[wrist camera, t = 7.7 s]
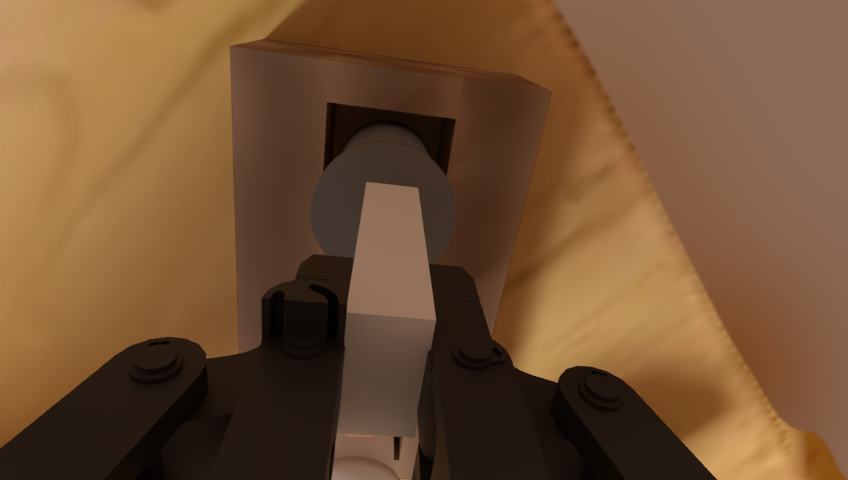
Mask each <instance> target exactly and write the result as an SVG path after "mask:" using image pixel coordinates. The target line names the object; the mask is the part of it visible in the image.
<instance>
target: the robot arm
mask: <svg viewBox="0 0 848 480" xmlns="http://www.w3.org/2000/svg"><path fill="white" fill-rule="evenodd" d="M261 308H262V341H261V344H260V346H258V347H257V348H255V349H252V350H250V351H247V352H244V353H240V354H235V355H231V356H224V357H217V358H210V359H206V353H205V351H204V350H203V349H202V348H201V347H200V345H199V344H197V343H194V342H192V341H190V340H187V339H183V338H173V337H165V338H157V339H150V340H147V341H144V342H141V343H138V344H135V345H132V346H130V347H128V348H127V349H125V350H123V351H122V352H120V353H118V354H117V355H115V356H114V357H113V358H112V359H110V360H109V361H108V362H107V363H106V364H104V365H103V366H102V367H101V368H99V369H98V370H97V371H96V372H94V373H93V374H92V375H91V376H89V377H88V378H87V379H86V380H85V381H83V382H82V383H81V384H80V385H78V386H77V387H76V388H75V389H73V390H72V391H71V392H70V393H69V394H67V395H66V396H65V397H64V398H62V399H61V400H60V401H59V402H57V403H56V404H55V405H54V406H52V407H51V408H50V409H49V410H48V411H46V412H45V413H44V414H43V415H41V416H40V417H39V418H38V419H36V420H35V421H34V422H33V423H31V424H30V425H29V426H28V427H27V428H25V429H24V430H23V431H22V432H20V433H19V434H18V435H17V436H15V437H14V438H13V439H12V440H11V441H9V442H8V443H7V444H6V445H4V446H3V447H2V448H1V449H0V480H332V472H333V464H334V455H335V444H336V434H337V433H340V434H358V435H376V436H394V437H412V438H415V433H416V428H417V422H418V434H419V443H418V449H417V454H416V459H415V464H414V470H413V475H412V480H717V479H716V478H715V477H714V476H713V475H712V474H711V473H710V472H709V471H708V470H707V468H706V467H705V466H704V465H703V464H702V463H701V462H700V461H699V460H698V459H697V458H696V457H695V455H694V454H693V453H692V452H691V451H690V450H689V449H688V448H687V447H686V446H685V445H684V444H683V443H682V441H681V440H680V439H679V438H678V437H677V436H676V435H675V434H674V433H673V432H672V431H671V430H670V429H669V427H668V426H667V425H666V424H665V423H664V422H663V421H662V420H661V419H660V418H659V417H658V416H657V415H656V413H655V412H654V411H653V410H652V409H651V408H650V407H649V406H648V405H647V404H646V403H645V402H644V401H643V399H642V398H641V397H640V396H639V395H638V394H637V393H636V392H635V391H634V390H633V389H632V388H631V387H630V386H629V385H627V384H626V383H625V382H624V381H623V380H621V379H620V378H618V377H616V376H614V375H612V374H611V373H609V372H607V371H604V370H601V369H597V368H594V367H587V366H576V367H572V368H569V369H566V370H565V371H564V372H563V373H562V375H561V376H560V378H559V380H558V383H556V382H553V381H550V380H546V379H543V378H540V377H536V376H533V375H530V374H528V373H525V372H523V371H520V370H519V369H517V368H515V367H514V366H513V363H512V360H511V358H510V356H509V354H508V353H507V351H506V350H505V349H504V348H503V347H502V346H501V345H499V344H498V343H497V342H496V341H494V340H492V338H491V335H490V332H489V328H488V325H487V322H486V318H485V315H484V312H483V308H482V305H481V304H480V298H479V295H478V294H477V288H476V285H475V281H474V278H473V277H472V276H471V275H470V274H469V273H468V272H467V271H466V270H465V269H464V268H463V267H459V266H448V265H438V264H428V256H427V249H426V242H425V235H424V227H423V220H422V213H421V205H420V198H419V191H418V188H416V187H407V186H399V185H390V184H381V183H373V182H366V188H365V194H364V201H363V207H362V213H361V219H360V226H359V232H358V238H357V245H356V251H355V257H354V258H350V257H340V256H329V255H319V254H313V255H311V256H310V257H309V258H307V259H306V260H305V261H303V262H302V263H301V264H300V266H299V269H298V271H297V274H296V278H295V279H294V280H293V281H289V282H284V283H280V284H278V285H276V286H274V287H272V288H270V289H269V290H268V291H267V292H266V293H265V294H264V295H263V297H262V298H261Z"/></svg>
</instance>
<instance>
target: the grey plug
mask: <svg viewBox="0 0 848 480" xmlns="http://www.w3.org/2000/svg"><path fill="white" fill-rule="evenodd" d="M332 480H400V478H399V476H398V475H397V474H396V472H395V471H394V436H373V437H355V436H348V435H344V434H340V433H337V434H336V444H335V455H334V464H333V472H332Z"/></svg>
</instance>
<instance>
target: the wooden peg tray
mask: <svg viewBox="0 0 848 480" xmlns="http://www.w3.org/2000/svg"><path fill="white" fill-rule="evenodd" d="M230 65H231V99H232V133H233V167H234V200H235V234H236V268H237V302H238V335H239V354H240V353H244V352H247V351H250V350H252V349H255V348H257V347H258V346H260V344H261V341H262V308H261V298H262V297H263V295H264V294H265V293H266V292H267V291H268V290H269V289H270V288H272V287H274V286H276V285H278V284H280V283H284V282H289V281H293V280H294V279H295V278H296V274H297V271H298V269H299V266H300V264H301V263H302V262H303V261H305V260H306V259H307V258H309V257H310V256H311V255H313V254H319V255H326V254H325V253H324V252H323V251H322V249H321V248H320V246H319V244H318V242H317V240H316V238H315V236H314V233H313V230H312V225H311V217H310V209H311V201H312V198H313V194H314V191H315V189H316V187H317V184H318V182H319V180H320V177H321V175H322V174H323V172H324V171H325V169H326V168H327V166H328V165H329V164H330V163H331V162H332V161H333V160H334V159H335V158H336V157H337V156H338V155H340V154H341V153H342V152H343V149H344V146H345V144H346V142H347V140H348V139H349V137H350V136H351V135H352V134H353V133H354V132H355V131H356V130H357V129H358V128H360V127H361V126H363V125H365V124H367V123H369V122H372V121H376V120H394V121H398V122H401V123H404V124H406V125H408V126H409V127H411V128H412V129H414V130H415V131H416V132H417V133H418V134H419V135H420V136H421V138H422V139H423V141H424V142H425V144H426V146H427V149H428V152H429V155H430V158H431V159H433V160H434V161H435V162H436V164H437V165H438V166H439V167H440V168H441V170H442V171H443V173H444V174H445V176H446V178H447V180H448V182H449V184H450V187H451V190H452V193H453V197H454V200H455V205H456V225H455V230H454V233H453V236H452V239H451V241H450V243H449V245H448V247H447V248H446V250H445V251H444V253H443V254H442V255H441V257H440V258H439V259H438V260H437V261H436V262H435V263H433V264H438V265H448V266H459V267H463V268H464V269H465V270H466V271H467V272H468V273H469V274H470V275H471V276H472V277H473V278H474V281H475V285H476V288H477V294H478V295H479V298H480V304H481V305H482V308H483V312H484V315H485V318H486V322H487V325H488V328H489V332H490V335H491V337H492V333H493V329H494V325H495V321H496V317H497V313H498V308H499V304H500V300H501V296H502V292H503V288H504V284H505V280H506V276H507V272H508V268H509V264H510V260H511V256H512V252H513V247H514V243H515V239H516V235H517V231H518V227H519V223H520V219H521V215H522V211H523V207H524V203H525V199H526V195H527V190H528V186H529V182H530V178H531V174H532V170H533V166H534V162H535V158H536V154H537V150H538V146H539V142H540V138H541V133H542V129H543V125H544V121H545V117H546V113H547V109H548V105H549V101H550V97H551V93H552V92H551V91H549V90H547V89H545V88H543V87H541V86H539V85H537V84H535V83H533V82H531V81H529V80H527V79H525V78H523V77H520V76H514V75H508V74H501V73H494V72H487V71H480V70H473V69H466V68H459V67H452V66H445V65H439V64H432V63H425V62H418V61H411V60H404V59H397V58H390V57H383V56H376V55H369V54H363V53H356V52H349V51H342V50H335V49H328V48H321V47H314V46H307V45H300V44H293V43H287V42H280V41H273V40H266V39H262V40H258V41H253V42H248V43H243V44H238V45H233V46H230ZM418 443H419V434H418V422H417V428H416V433H415V438H412V437H394V471H395V472H396V474H397V475H398V476H399V478H400V479H410V480H412V475H413V470H414V464H415V459H416V454H417V449H418Z"/></svg>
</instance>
